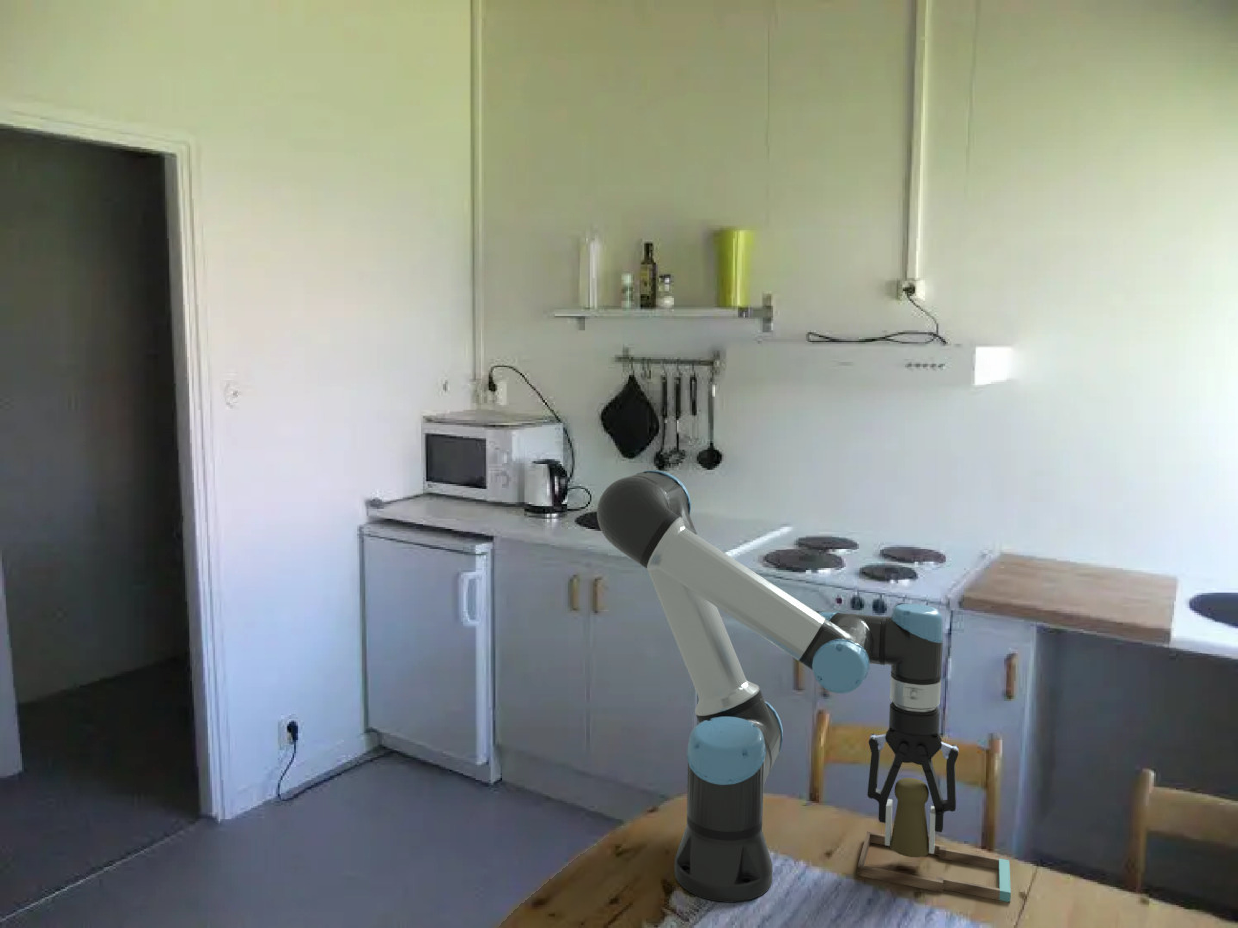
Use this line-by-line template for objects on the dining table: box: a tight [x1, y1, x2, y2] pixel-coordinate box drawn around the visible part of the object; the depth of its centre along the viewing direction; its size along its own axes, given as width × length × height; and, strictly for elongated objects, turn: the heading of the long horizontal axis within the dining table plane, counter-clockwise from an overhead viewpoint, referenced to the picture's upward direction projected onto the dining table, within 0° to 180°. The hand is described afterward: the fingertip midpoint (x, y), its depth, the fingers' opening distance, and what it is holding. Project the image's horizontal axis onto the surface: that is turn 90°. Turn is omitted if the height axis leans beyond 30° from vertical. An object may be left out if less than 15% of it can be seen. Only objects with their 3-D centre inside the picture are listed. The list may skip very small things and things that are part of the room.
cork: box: [889, 777, 930, 858], centre depth 149 cm, size 6×6×11 cm
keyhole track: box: [857, 831, 1012, 903], centre depth 149 cm, size 22×12×2 cm, turn 69°
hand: (909, 845), depth 150 cm, fingers closed on cork, 6 cm apart
